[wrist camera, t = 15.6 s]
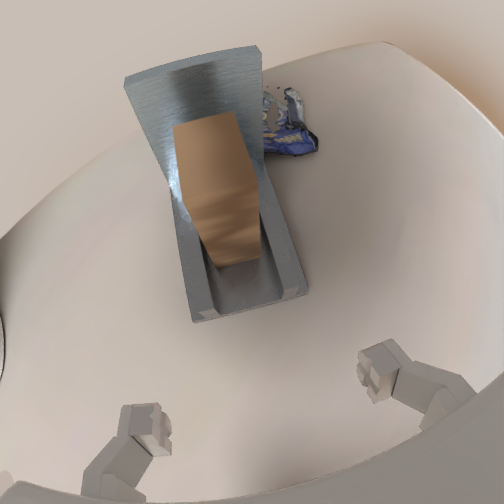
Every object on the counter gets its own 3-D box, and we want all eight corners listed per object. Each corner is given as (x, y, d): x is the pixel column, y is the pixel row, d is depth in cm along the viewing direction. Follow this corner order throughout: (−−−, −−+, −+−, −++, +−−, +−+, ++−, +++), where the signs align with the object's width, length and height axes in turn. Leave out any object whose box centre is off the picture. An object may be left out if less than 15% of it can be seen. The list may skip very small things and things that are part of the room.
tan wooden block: (215, 268, 24) (182, 200, 14) (203, 210, 26) (172, 126, 16) (260, 256, 25) (258, 181, 14) (244, 199, 27) (233, 111, 16)
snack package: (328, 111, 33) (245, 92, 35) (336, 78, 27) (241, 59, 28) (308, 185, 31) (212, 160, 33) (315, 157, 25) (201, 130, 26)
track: (195, 323, 24) (117, 275, 11) (171, 180, 29) (125, 77, 16) (307, 293, 24) (353, 214, 11) (260, 158, 30) (256, 45, 17)
